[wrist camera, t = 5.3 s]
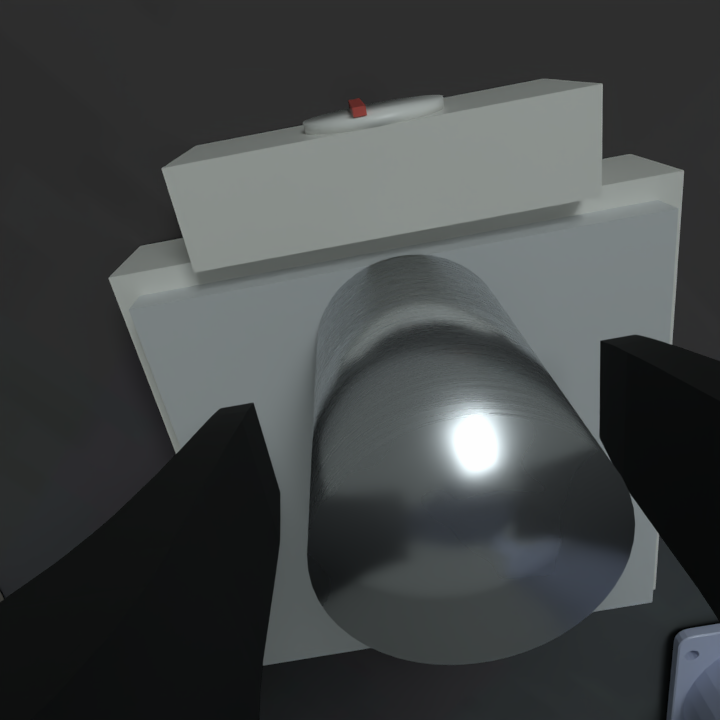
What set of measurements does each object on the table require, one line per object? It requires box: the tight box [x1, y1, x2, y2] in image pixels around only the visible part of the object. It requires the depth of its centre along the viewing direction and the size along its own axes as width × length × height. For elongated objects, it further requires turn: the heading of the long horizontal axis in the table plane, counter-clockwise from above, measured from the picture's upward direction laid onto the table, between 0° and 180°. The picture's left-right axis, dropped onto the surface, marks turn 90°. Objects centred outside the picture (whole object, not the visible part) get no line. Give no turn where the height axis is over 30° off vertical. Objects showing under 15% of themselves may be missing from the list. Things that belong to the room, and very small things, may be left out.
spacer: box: [307, 254, 635, 665], centre depth 10 cm, size 4×4×6 cm
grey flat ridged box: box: [109, 79, 684, 666], centre depth 15 cm, size 14×12×3 cm
